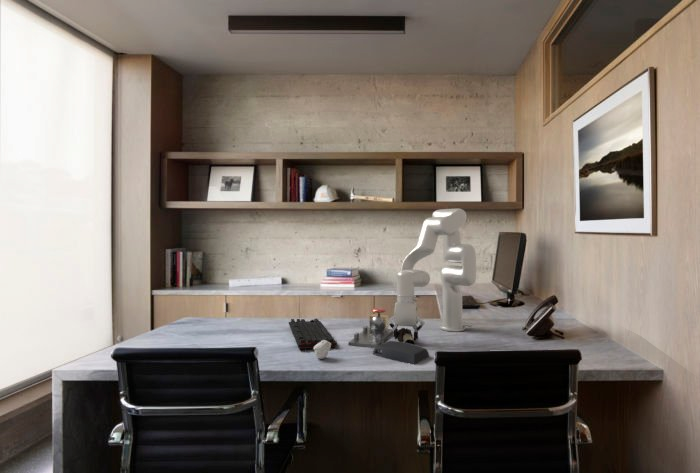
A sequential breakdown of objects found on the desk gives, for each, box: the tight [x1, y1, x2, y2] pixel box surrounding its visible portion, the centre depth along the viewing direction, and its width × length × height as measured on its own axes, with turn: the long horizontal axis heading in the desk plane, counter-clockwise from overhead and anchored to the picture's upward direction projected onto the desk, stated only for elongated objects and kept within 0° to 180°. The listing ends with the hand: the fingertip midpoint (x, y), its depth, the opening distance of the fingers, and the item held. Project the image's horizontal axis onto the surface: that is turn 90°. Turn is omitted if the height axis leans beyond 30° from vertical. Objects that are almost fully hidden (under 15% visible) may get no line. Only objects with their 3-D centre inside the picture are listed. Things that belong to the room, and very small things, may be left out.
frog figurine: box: [313, 340, 332, 360], centre depth 153 cm, size 6×7×7 cm
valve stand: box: [348, 307, 394, 348], centre depth 182 cm, size 13×29×11 cm, turn 160°
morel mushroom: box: [397, 327, 417, 345], centre depth 172 cm, size 18×7×6 cm, turn 177°
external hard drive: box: [372, 340, 430, 365], centre depth 156 cm, size 13×19×4 cm
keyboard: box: [288, 318, 338, 352], centre depth 185 cm, size 42×16×5 cm, turn 14°
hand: (405, 339), depth 174 cm, fingers closed on morel mushroom, 7 cm apart
